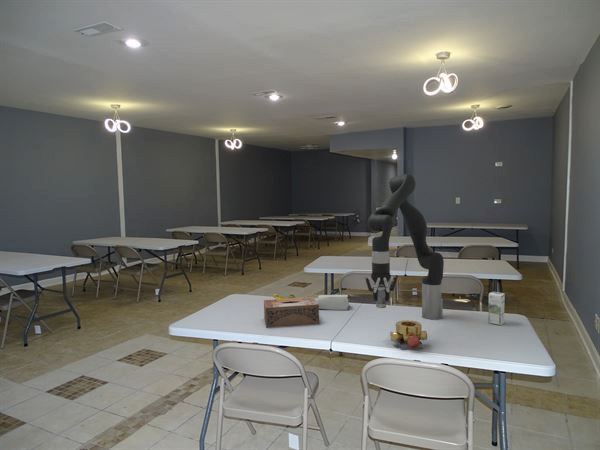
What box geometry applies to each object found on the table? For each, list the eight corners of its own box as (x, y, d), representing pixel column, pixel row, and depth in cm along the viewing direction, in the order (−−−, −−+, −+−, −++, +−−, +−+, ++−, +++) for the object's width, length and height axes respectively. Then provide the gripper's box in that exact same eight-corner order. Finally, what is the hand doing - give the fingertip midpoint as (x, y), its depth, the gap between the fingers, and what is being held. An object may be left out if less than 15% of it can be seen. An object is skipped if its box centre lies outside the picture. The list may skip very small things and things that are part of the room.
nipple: (385, 305, 179) (384, 284, 178) (387, 308, 175) (387, 287, 174) (375, 305, 179) (375, 285, 178) (377, 308, 175) (376, 287, 174)
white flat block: (309, 294, 248) (307, 294, 224) (347, 294, 247) (349, 294, 222) (309, 308, 247) (307, 309, 222) (347, 308, 245) (349, 310, 221)
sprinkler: (290, 312, 221) (308, 302, 239) (289, 300, 221) (306, 291, 238) (257, 310, 233) (276, 301, 250) (256, 299, 232) (275, 290, 249)
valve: (422, 340, 175) (422, 319, 174) (431, 351, 163) (431, 329, 162) (388, 341, 175) (388, 320, 174) (395, 352, 163) (395, 330, 162)
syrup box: (504, 322, 196) (505, 292, 195) (500, 325, 192) (501, 295, 190) (492, 320, 200) (492, 291, 199) (487, 323, 195) (488, 293, 194)
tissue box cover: (266, 328, 196) (265, 307, 195) (264, 319, 210) (263, 300, 210) (319, 324, 200) (318, 304, 199) (313, 315, 214) (313, 297, 214)
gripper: (395, 259, 179) (395, 297, 180) (362, 260, 179) (363, 298, 180) (399, 262, 171) (399, 302, 173) (365, 263, 171) (366, 303, 173)
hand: (381, 300), depth 177 cm, fingers closed on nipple, 4 cm apart
